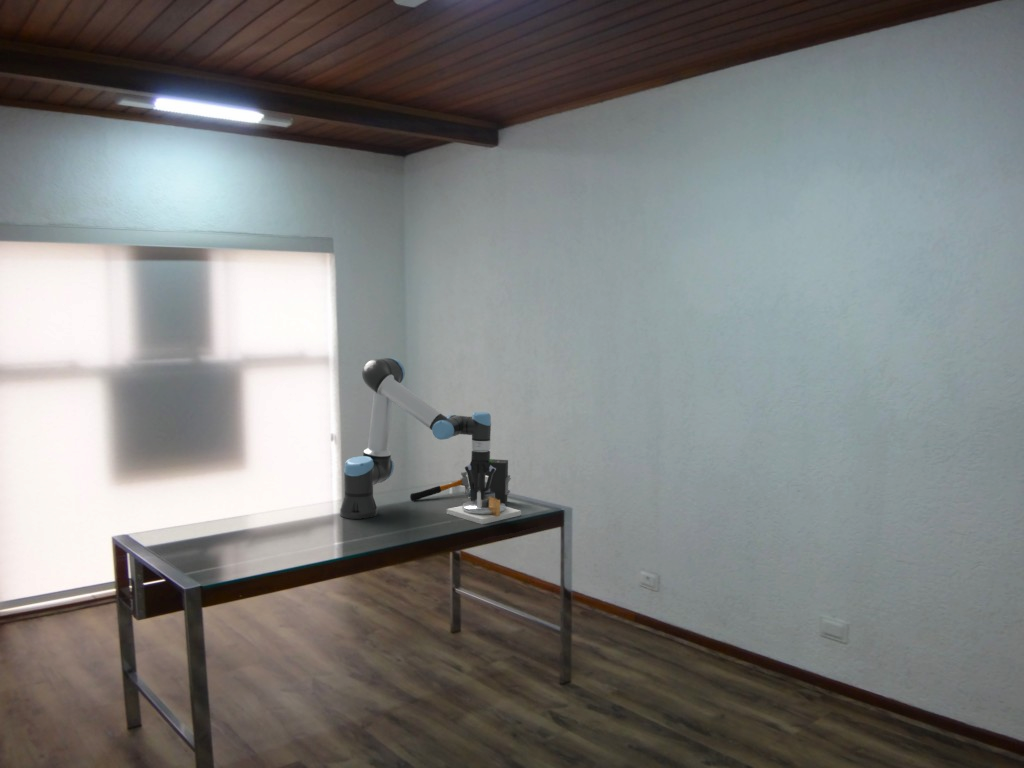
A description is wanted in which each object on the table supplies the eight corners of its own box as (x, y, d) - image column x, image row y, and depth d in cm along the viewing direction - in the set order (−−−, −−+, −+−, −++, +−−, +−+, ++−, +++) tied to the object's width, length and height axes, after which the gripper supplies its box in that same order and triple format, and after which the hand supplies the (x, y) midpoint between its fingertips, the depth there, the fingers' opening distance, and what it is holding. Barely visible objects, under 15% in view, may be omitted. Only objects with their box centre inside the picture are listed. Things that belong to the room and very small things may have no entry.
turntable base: (446, 513, 340) (447, 480, 338) (485, 505, 355) (485, 474, 354) (482, 524, 324) (482, 490, 323) (520, 515, 339) (521, 482, 338)
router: (470, 499, 366) (471, 455, 364) (510, 501, 363) (511, 457, 361) (467, 503, 358) (468, 459, 356) (507, 505, 355) (508, 460, 354)
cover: (481, 508, 334) (481, 491, 333) (472, 503, 341) (472, 487, 340) (498, 506, 338) (498, 490, 337) (489, 501, 345) (489, 486, 344)
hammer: (411, 488, 358) (468, 471, 375) (407, 487, 361) (464, 470, 378) (414, 512, 360) (470, 493, 377) (410, 510, 363) (466, 492, 380)
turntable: (478, 518, 324) (478, 502, 323) (455, 506, 343) (455, 490, 342) (517, 514, 332) (517, 498, 332) (493, 502, 351) (493, 487, 351)
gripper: (462, 450, 326) (461, 507, 329) (494, 452, 324) (492, 510, 326) (468, 447, 334) (466, 503, 336) (498, 449, 331) (497, 506, 333)
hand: (479, 507), depth 331 cm, fingers closed
